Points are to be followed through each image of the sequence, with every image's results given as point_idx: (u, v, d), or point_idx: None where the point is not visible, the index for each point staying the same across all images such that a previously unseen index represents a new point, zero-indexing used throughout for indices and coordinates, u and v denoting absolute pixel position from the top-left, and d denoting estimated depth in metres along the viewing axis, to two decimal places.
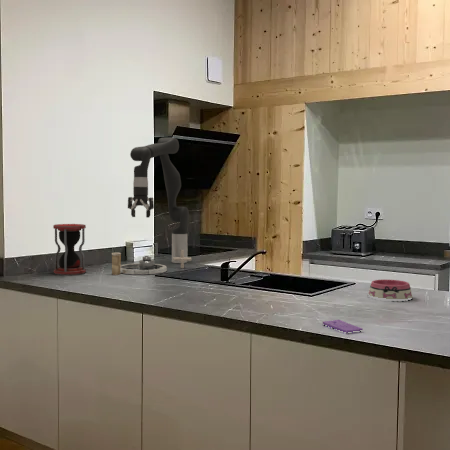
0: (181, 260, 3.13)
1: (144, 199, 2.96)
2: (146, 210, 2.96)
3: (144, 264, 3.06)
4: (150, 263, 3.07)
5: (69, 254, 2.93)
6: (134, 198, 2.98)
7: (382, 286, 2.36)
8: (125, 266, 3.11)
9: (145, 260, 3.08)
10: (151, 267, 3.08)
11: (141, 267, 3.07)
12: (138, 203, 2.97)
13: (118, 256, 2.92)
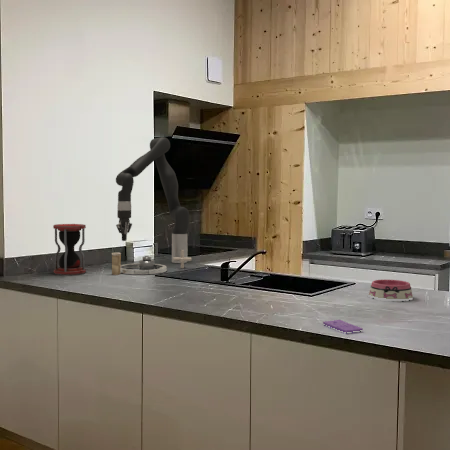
0: (181, 260, 3.13)
1: (128, 223, 3.19)
2: (126, 234, 3.17)
3: (144, 264, 3.06)
4: (150, 263, 3.07)
5: (69, 254, 2.93)
6: (122, 221, 3.13)
7: (383, 286, 2.36)
8: (125, 266, 3.11)
9: (145, 260, 3.08)
10: (151, 267, 3.08)
11: (141, 267, 3.07)
12: None
13: (118, 256, 2.92)
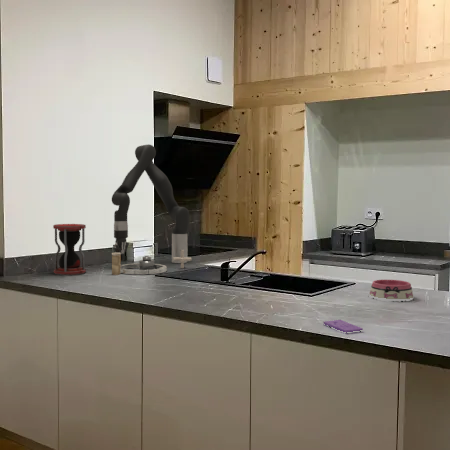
0: (181, 260, 3.13)
1: None
2: (122, 254, 3.15)
3: (144, 264, 3.06)
4: (150, 263, 3.07)
5: (69, 254, 2.93)
6: (119, 241, 3.11)
7: (383, 286, 2.36)
8: (125, 266, 3.11)
9: (145, 260, 3.08)
10: (151, 267, 3.08)
11: (141, 267, 3.07)
12: (123, 244, 3.14)
13: (118, 256, 2.92)
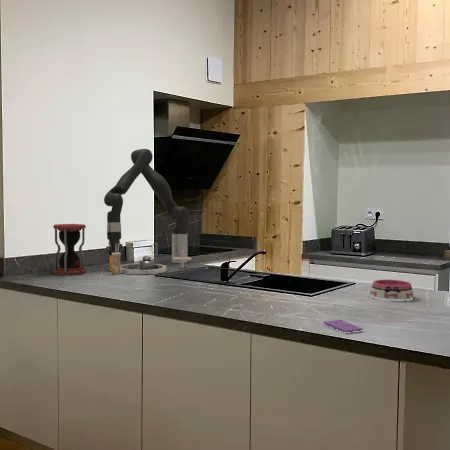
0: (181, 260, 3.13)
1: (118, 244, 3.10)
2: None
3: (144, 264, 3.06)
4: (150, 263, 3.07)
5: (69, 254, 2.93)
6: (112, 243, 3.04)
7: (384, 286, 2.36)
8: (121, 267, 3.06)
9: (145, 260, 3.08)
10: (151, 267, 3.08)
11: (141, 267, 3.07)
12: None
13: (118, 256, 2.92)
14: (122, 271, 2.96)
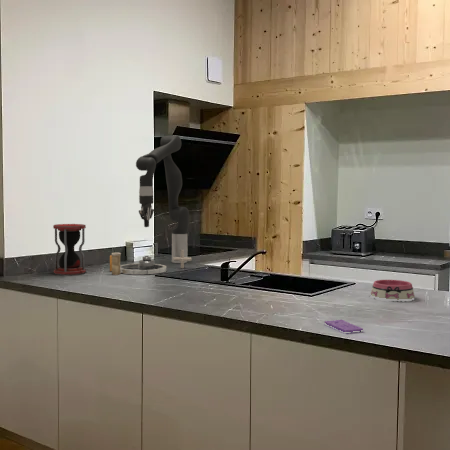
0: (181, 260, 3.13)
1: (150, 209, 3.09)
2: (148, 220, 3.08)
3: (144, 264, 3.06)
4: (150, 263, 3.07)
5: (69, 254, 2.93)
6: (145, 207, 3.04)
7: (384, 286, 2.35)
8: (121, 267, 3.06)
9: (145, 260, 3.08)
10: (151, 267, 3.08)
11: (141, 267, 3.07)
12: None
13: (118, 256, 2.92)
14: (122, 271, 2.96)
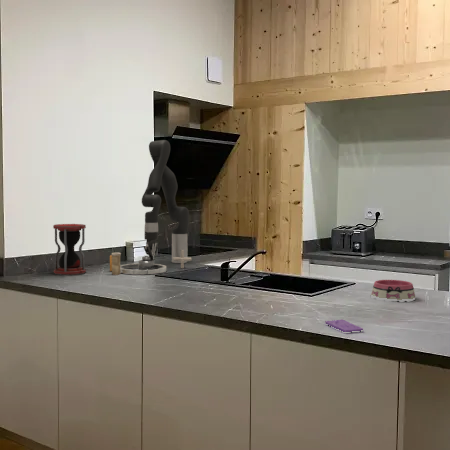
0: (181, 260, 3.13)
1: (155, 245, 3.16)
2: (153, 255, 3.14)
3: (143, 264, 3.06)
4: (150, 263, 3.06)
5: (69, 254, 2.93)
6: (150, 243, 3.11)
7: (385, 286, 2.35)
8: (121, 267, 3.06)
9: (145, 260, 3.07)
10: (151, 267, 3.07)
11: (140, 267, 3.07)
12: None
13: (118, 256, 2.92)
14: (122, 271, 2.96)
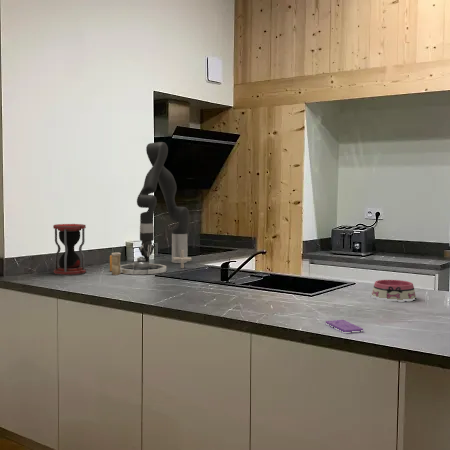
0: (181, 260, 3.13)
1: None
2: (148, 256, 3.10)
3: (138, 265, 3.01)
4: (144, 264, 3.02)
5: (69, 254, 2.93)
6: (145, 244, 3.06)
7: (386, 286, 2.35)
8: (121, 267, 3.06)
9: (139, 261, 3.03)
10: (146, 268, 3.02)
11: (135, 268, 3.02)
12: None
13: (118, 256, 2.92)
14: (122, 271, 2.96)
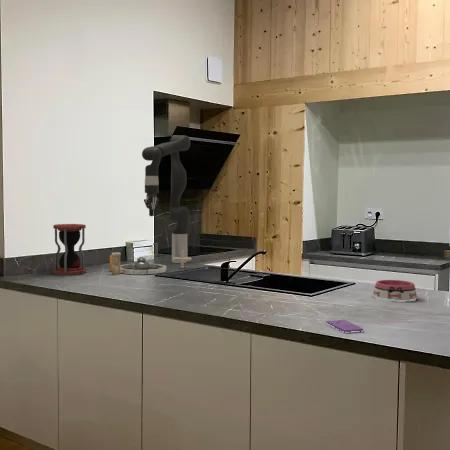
0: (181, 260, 3.13)
1: (155, 199, 3.14)
2: (153, 209, 3.12)
3: (138, 265, 3.01)
4: (144, 264, 3.02)
5: (69, 254, 2.93)
6: (150, 196, 3.09)
7: (387, 286, 2.35)
8: (121, 267, 3.06)
9: (139, 261, 3.03)
10: (146, 268, 3.02)
11: (135, 268, 3.02)
12: None
13: (118, 256, 2.92)
14: (122, 271, 2.96)
